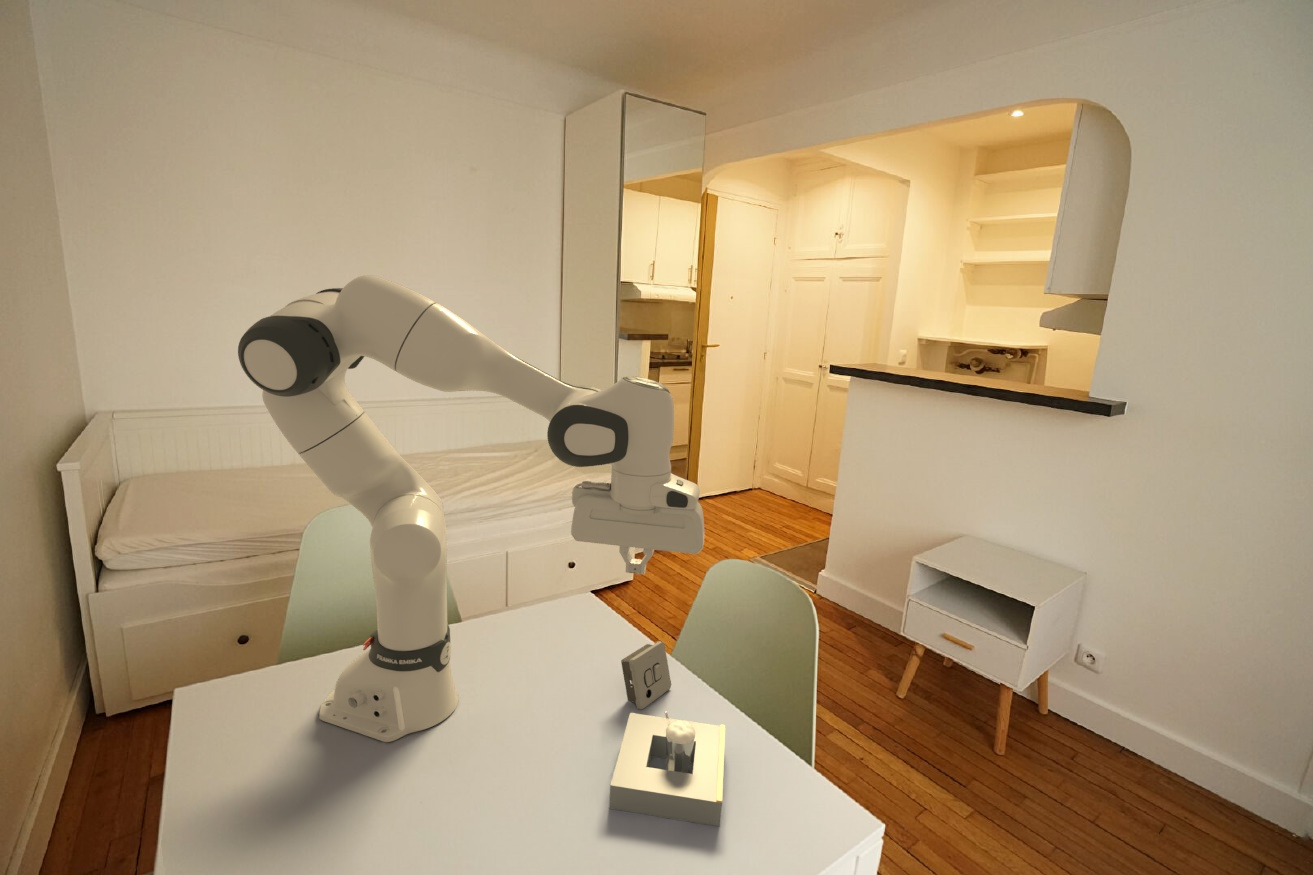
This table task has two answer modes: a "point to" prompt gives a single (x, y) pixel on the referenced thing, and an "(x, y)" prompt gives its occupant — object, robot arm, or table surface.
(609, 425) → the robot arm
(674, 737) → the milkshake
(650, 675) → the electrical switch
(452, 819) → the table surface
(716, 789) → the socket block
